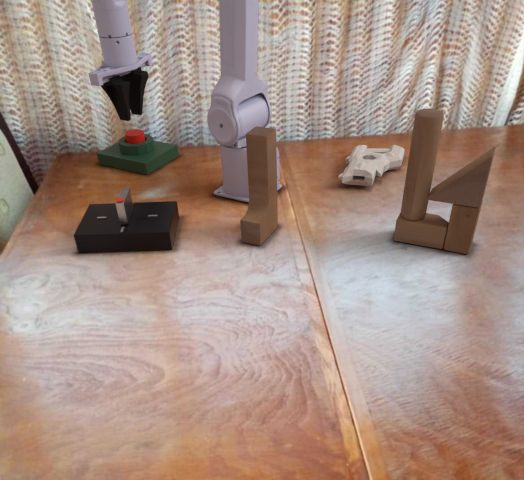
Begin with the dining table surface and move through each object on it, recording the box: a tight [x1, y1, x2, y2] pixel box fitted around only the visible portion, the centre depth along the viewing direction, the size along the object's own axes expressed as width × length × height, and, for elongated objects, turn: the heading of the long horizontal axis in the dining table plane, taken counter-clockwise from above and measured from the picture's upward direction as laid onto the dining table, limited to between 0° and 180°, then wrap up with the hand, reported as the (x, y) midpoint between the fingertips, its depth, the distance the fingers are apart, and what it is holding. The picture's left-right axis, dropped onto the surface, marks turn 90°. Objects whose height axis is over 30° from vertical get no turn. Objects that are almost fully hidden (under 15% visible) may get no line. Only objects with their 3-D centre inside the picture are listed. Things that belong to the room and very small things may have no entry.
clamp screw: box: [114, 187, 134, 225], centre depth 80 cm, size 5×1×4 cm, turn 0°
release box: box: [96, 133, 180, 176], centre depth 105 cm, size 12×10×4 cm
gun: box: [338, 144, 406, 187], centre depth 97 cm, size 18×3×10 cm
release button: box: [124, 128, 145, 144], centre depth 103 cm, size 4×4×2 cm
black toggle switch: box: [73, 200, 180, 254], centre depth 83 cm, size 14×10×3 cm
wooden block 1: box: [239, 126, 279, 246], centre depth 78 cm, size 7×3×15 cm, turn 155°
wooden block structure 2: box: [393, 107, 497, 255], centre depth 73 cm, size 4×11×18 cm, turn 66°
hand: (131, 117), depth 101 cm, fingers open, 3 cm apart
